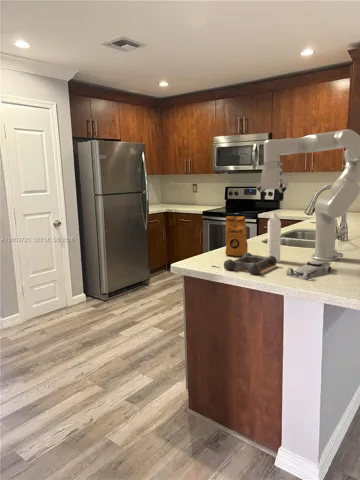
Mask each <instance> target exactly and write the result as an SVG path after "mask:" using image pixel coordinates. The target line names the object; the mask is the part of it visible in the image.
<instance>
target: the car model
mask: <svg viewBox="0 0 360 480" xmlns="http://www.w3.org/2000/svg"><path fill="white" fill-rule="evenodd" d="M332 272H333V268H332V266H331V263H330V261H322V260H310V261H307V262H305V264H304V265H301V266H299V267H298V268H297V269H295V270H294V269H293V267H287V269H286V271H285V273H286V274H285V275H286V276H288V277H290V278H296V279H297V280H305V281H308V280H310V279H311V278H313V277H317V276H322V275H326V274H327V273H328V274H331V273H332Z"/></svg>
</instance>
